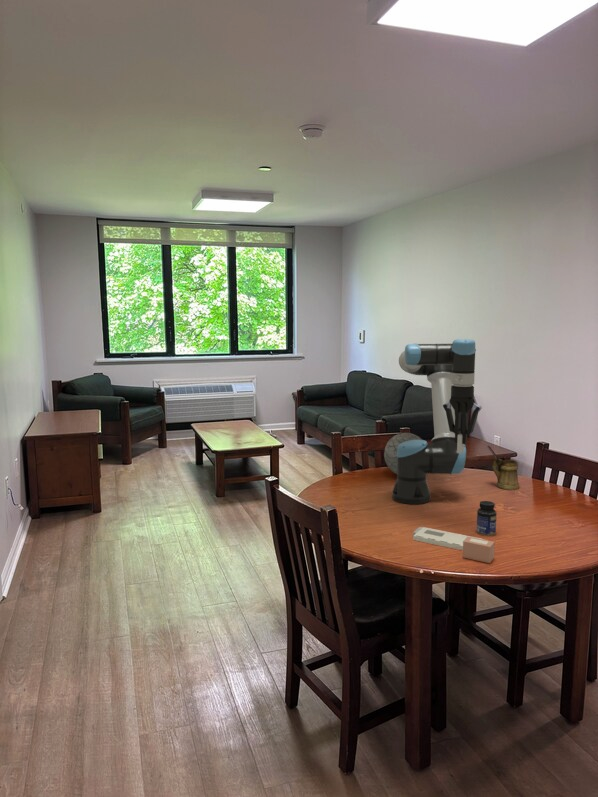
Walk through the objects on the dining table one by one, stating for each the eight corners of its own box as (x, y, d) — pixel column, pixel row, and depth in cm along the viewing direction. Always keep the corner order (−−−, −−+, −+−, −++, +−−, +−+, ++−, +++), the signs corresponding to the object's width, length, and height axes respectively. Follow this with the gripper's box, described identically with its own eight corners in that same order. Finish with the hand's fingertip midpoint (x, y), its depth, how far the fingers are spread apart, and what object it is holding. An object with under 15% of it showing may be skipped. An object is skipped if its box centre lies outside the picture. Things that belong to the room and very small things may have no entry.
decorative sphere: (376, 472, 266) (376, 431, 263) (412, 468, 273) (412, 427, 271) (398, 483, 248) (399, 439, 245) (436, 478, 255) (437, 435, 252)
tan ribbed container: (484, 483, 247) (485, 443, 245) (516, 484, 245) (518, 443, 243) (487, 489, 238) (489, 447, 236) (521, 490, 236) (523, 448, 234)
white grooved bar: (413, 540, 183) (413, 535, 183) (423, 531, 190) (423, 526, 190) (475, 553, 172) (475, 548, 172) (483, 543, 180) (483, 538, 179)
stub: (462, 557, 169) (463, 541, 169) (467, 552, 173) (467, 536, 172) (489, 563, 165) (490, 546, 164) (494, 557, 169) (494, 541, 168)
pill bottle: (493, 539, 185) (494, 507, 183) (474, 536, 188) (475, 504, 186) (497, 533, 190) (498, 501, 188) (479, 530, 193) (480, 498, 192)
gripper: (440, 385, 193) (438, 452, 197) (478, 387, 185) (475, 457, 189) (447, 382, 199) (446, 447, 203) (485, 385, 192) (482, 452, 195)
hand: (460, 452), depth 196 cm, fingers closed
